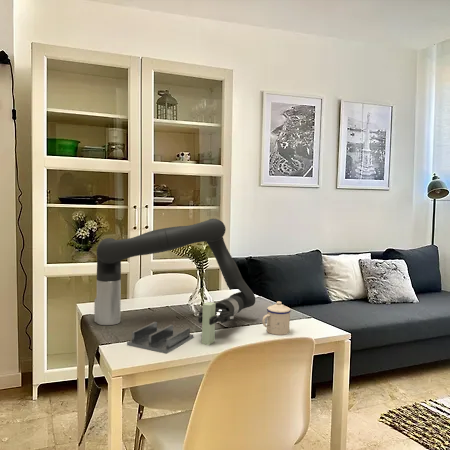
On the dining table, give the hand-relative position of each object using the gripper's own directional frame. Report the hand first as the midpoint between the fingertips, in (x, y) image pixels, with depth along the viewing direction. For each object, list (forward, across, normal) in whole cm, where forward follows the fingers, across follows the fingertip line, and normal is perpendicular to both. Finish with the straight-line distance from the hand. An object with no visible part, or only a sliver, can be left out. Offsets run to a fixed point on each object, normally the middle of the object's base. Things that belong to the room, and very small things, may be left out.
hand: (205, 320), depth 155 cm
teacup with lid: (-26, +17, +9) cm, 32 cm away
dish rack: (+4, -15, +8) cm, 18 cm away
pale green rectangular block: (-3, 0, +8) cm, 9 cm away
